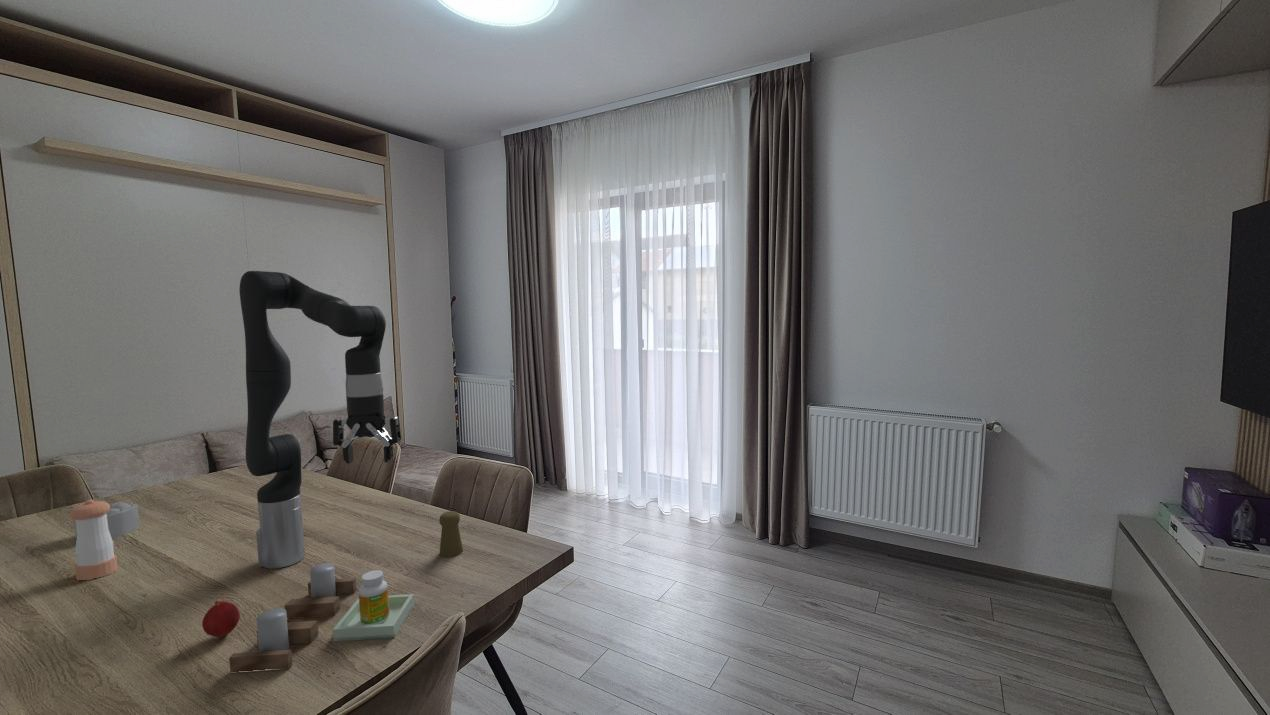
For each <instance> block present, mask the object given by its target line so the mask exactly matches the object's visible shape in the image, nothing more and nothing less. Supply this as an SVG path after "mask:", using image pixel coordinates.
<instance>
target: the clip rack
mask: <svg viewBox="0 0 1270 715" xmlns="http://www.w3.org/2000/svg"><path fill="white" fill-rule="evenodd" d="M307 590H308V593H307V594H308V597H305V598H303V597H302V598H300V597H299V598H290V599H289V601H287V603H286V602H285V603H286V604H284V609H285V610H286V614H287V618H292V619H307V618H322V617H324V618H325V617H335V616H336V615H337V614H338V613H339V612H340V610H341V602H340V596H339V595H346V594H347V595H348V594H355V592H357V582H356V578H355V577H352V578H337V579H336V578H335V591H336V595H338V596H335V597H317V598H312V596H311V580H310V581H309V582H307ZM287 627H288V640H289V645H293V644H295V645H296V644H299V645H300V644H311V643H313V642H314V640H315V639H317V637H318V636H319V624H318V620H308V621H303V620H302V621H291V622H290V621H289V622H288V621H287ZM256 636H257V638H256V639H257V640H258V632H257V631H256ZM258 645H259V644H258V643H257V646H258ZM228 660H229V661H228V662H229V671H230V672H239V671H253V670H265V669H288V668H289V667H290V666H291V665H292V666H293V655H292V649H289V650H278V651H262V652H259V651H250V652H234V653H232V654H231V655H230V656H229V658H228ZM292 666H291V667H292ZM291 667H290V668H291ZM290 668H289V669H290Z"/></svg>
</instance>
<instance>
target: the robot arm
mask: <svg viewBox="0 0 1270 715" xmlns="http://www.w3.org/2000/svg"><path fill="white" fill-rule="evenodd" d="M238 291H239V298H240V299H239V300H240V301H239V302H240V308H241V315H242V321H243V329H244V339H245V340H244V342H245V343H244V346H245V384H246V385H245V386H246V397H247V398H246V400H247V402H246V403H247V423H246V424H247V426H246V438H245V461H246V462H245V463H246V466H247V469H248V471H249V472H250V474H251V475H252V476H254V477H263V476H267V475H268V476H269V475H272V474H275V473H276V474H275V475H274V477H273V478H272V479H271V480H269V481H268V482H267V483H265V484H264V485H262V486H260V487H259V488H258V490H257V492H256V496H257V498H256V499H257V510H258V519H259V520H258V521H259V522H258V523H259V528H258V529H257V530H256V531H255V534H256V535H255V536H256V537H255V538H256V549H257V558H258V559H257V561H258V567H263V568H266V569H281V568H286V567H288V566H289V567H290V566H293V565H294V564H297V563H299V562H301V561H302V560H303V559H304V558H305V557H306V552H305V551H306V550H305V539H304V538H305V536H304V525H303V524H304V523H303V522H304V521H303V511H302V498H301V497H302V495H301V487H302V483H303V482H302V479H303V477H302V450H301V445H300V442H299V441H298V438H297V437H296V436H294V434H290V433H285V434H280V435H274V436H270V431H271V426H272V422H273V420H274V417H275V415H276V414H277V412H278V410H279V409H280V407H281V406H282V404H283V402H284V401H285V399H286V398H287V396H288V394H289V391H290V389H291V386H292V385H291V384H292V379H291V378H292V377H291V376H292V372H291V371H292V369H291V366H292V365H291V361H290V358H289V356H288V354H287V353H286V351H285V350H284V348H283V347H282V345H280V343H279V341H277V339H276V338H275V337H274V334H273V333H272V331H271V328H270V325H269V321H268V314H267V313H268V312H267V310H282V309H297V310H301V312H302V313H303V315H304V316H306V318H307V319H309V320H311V321H313V322H316V323H318V324H321V325H324V326H327V327H328V328H329V329H331V330H332V331H333V332H335V333H336V334H337V335H340V336H342V337H347V338H358V337H359V338H360V339H359V343H358V344H357V345H356V346H354V347H351V348H348V349H347V350H346V351H345V353H344V358H345V359H344V361H345V362H344V364H345V374H346V375H345V394H346V396H345V397H346V399H345V400H346V413H347V418H343V417H339V418H337V419H336V418H335V419H334V420H333V421H332V444H333V446H339V447H341V449H342V457H343V458H342V459H343V462H345V463H346V465H347V464H352V463H353V462H354V446H353V445H352V444H353V443H354V441H355V440H356V439H357V438H365V437H367V438H373V437H375V438H376V439H377V440H379V441H380V442H381V443H382V444H383V445H384V446H383V458H384V463H389V462H390V461H391V460H392V459H393V458H394V445H395V444H397V443H399V442H400V441H401V440H402V434H401V425H400V418H399V416H397V415H395V416H393V417H386V415H385V407H384V386H383V378H382V374H381V373H382V371H381V360H380V359H381V358H380V354H381V350H382V347H383V342H384V337H385V334H386V328H387V327H386V326H387V323H386V318H385V317H386V316H385V314H384V313H383V310H381V309H380V308H379V307H377V306H375V305H351V304H350V303H349V302H347V300H345V299H343V298H340V297H337V296H334V295H331V294H328V293H325V292H321V291H319V290H317V289H314V288H312V287H310V286H308V285H307V284H306V283H303V282H302V281H300V280H299V279H297V278H295V277H293V276H292V275H289V274H288V273H284V272H279V271H265V270H264V271H263V270H248V271H246V272H244V273H243V275H242V276H241V278H240V281H239V290H238ZM386 424H387V426H388V427H389V428H390V434H389V432H388V431H387V430H386V429H385V427H384V426H385V425H386ZM346 426H347V427H348V428H349V430H350V431H349V432H348V434H346V435H347V436H345V435H344V433H345V432H344V428H346ZM390 435H391V436H390ZM344 436H345V437H344Z"/></svg>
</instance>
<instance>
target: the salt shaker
mask: <svg viewBox="0 0 1270 715" xmlns="http://www.w3.org/2000/svg"><path fill="white" fill-rule="evenodd" d="M110 505H111V504H110V503H108V502H107V501H101V500H94V499H87V500H86V501H85V502H84V503H81V504H78V505H77V506H74V507H73V508H72V509H71V511H70V512H69V513H70V514H69V517H70V518H71V519H72V520H73V521H74V520H75V521H74V524H75V523H76V531H75V533H76V532H77V540H76V539H75V540H76V542H75V550H74V553H75V559H76V563H75V565H74V570H75V572H74V573H75V578H76V579H77V581H78V580H87V581H90V580H89V579H93V580H95V579H94V578H97V579H100V578H99V577H101V578H103V577H102V576H104V577H106V576H105V575H107V576H109V575H112V574H113V573H115V572H116V571H117V570H118V559H117V554H115V553H114V552H115V551H114V540H113V538H111V535H110V532H109V529H108V522H107V514H106V513H108V512H109V510H110ZM114 571H115V572H114ZM108 574H109V575H108Z"/></svg>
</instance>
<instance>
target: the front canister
mask: <svg viewBox="0 0 1270 715" xmlns="http://www.w3.org/2000/svg"><path fill="white" fill-rule="evenodd" d="M255 620H256V628H257V629H256V630H257V631H256V633H257V632H258V639H257V645H258V644H259V646H258V652H262V651H278V650H290V644H289V640H288V627H287V622H288V619H287V614H286V610H285V608H281V607H280V608H273V609H270V610H267V611H264V612H262V613H260V614H259V615H258V616H257V617H256V619H255Z"/></svg>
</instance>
